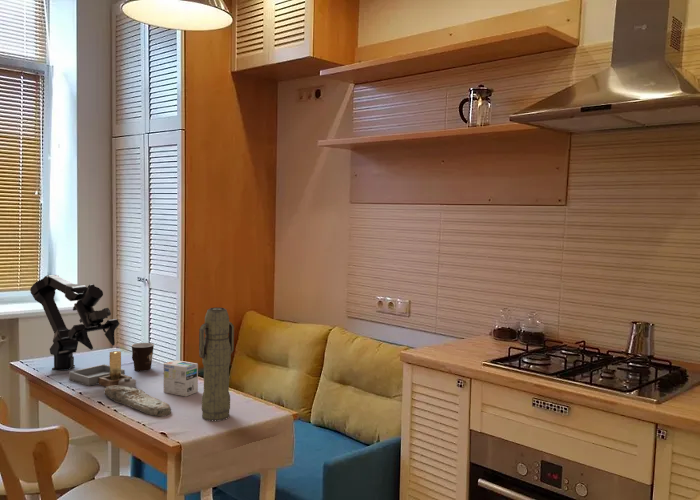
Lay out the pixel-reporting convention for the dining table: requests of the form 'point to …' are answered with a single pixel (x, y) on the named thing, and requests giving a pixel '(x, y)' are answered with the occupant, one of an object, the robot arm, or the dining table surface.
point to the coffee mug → (142, 356)
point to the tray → (90, 374)
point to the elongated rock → (137, 400)
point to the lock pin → (115, 365)
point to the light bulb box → (180, 378)
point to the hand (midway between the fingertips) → (103, 347)
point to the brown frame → (118, 381)
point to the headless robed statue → (216, 363)
